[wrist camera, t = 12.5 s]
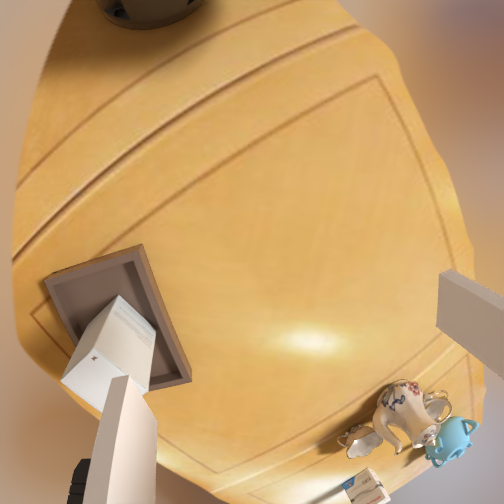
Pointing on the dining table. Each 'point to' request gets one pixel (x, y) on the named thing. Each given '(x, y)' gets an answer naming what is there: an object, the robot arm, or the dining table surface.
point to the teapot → (451, 440)
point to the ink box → (366, 489)
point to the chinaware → (399, 419)
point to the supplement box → (111, 353)
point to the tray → (134, 293)
